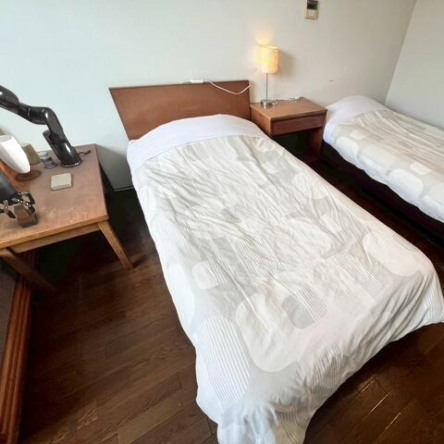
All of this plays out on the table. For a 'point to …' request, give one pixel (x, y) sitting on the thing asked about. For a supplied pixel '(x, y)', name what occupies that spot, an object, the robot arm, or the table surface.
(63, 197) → the table surface
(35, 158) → the olive brown tapered block
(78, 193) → the table surface
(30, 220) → the brush
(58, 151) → the robot arm
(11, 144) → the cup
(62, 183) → the tile
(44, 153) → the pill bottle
